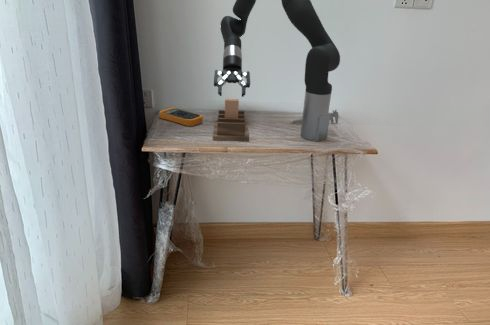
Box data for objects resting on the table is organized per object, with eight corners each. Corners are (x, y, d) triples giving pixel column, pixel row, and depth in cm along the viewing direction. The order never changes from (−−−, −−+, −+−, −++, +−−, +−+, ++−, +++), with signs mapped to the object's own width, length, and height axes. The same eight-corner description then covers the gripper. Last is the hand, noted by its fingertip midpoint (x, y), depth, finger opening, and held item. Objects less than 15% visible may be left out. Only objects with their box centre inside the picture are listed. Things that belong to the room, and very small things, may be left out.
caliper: (336, 123, 155) (338, 109, 152) (337, 124, 154) (339, 110, 151) (290, 123, 152) (291, 108, 149) (290, 124, 151) (292, 109, 148)
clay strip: (224, 126, 139) (225, 98, 134) (237, 126, 139) (238, 98, 135) (224, 128, 137) (225, 100, 132) (237, 129, 137) (238, 100, 133)
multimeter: (190, 128, 141) (190, 120, 140) (158, 118, 150) (157, 110, 149) (205, 123, 147) (205, 115, 146) (173, 114, 156) (172, 106, 155)
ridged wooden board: (215, 123, 147) (215, 108, 144) (247, 124, 148) (247, 109, 145) (212, 140, 130) (213, 124, 127) (249, 141, 130) (249, 125, 128)
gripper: (214, 53, 141) (213, 89, 136) (250, 54, 142) (250, 90, 136) (214, 64, 148) (213, 99, 143) (249, 66, 149) (249, 100, 143)
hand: (231, 95), depth 140 cm, fingers open, 8 cm apart
